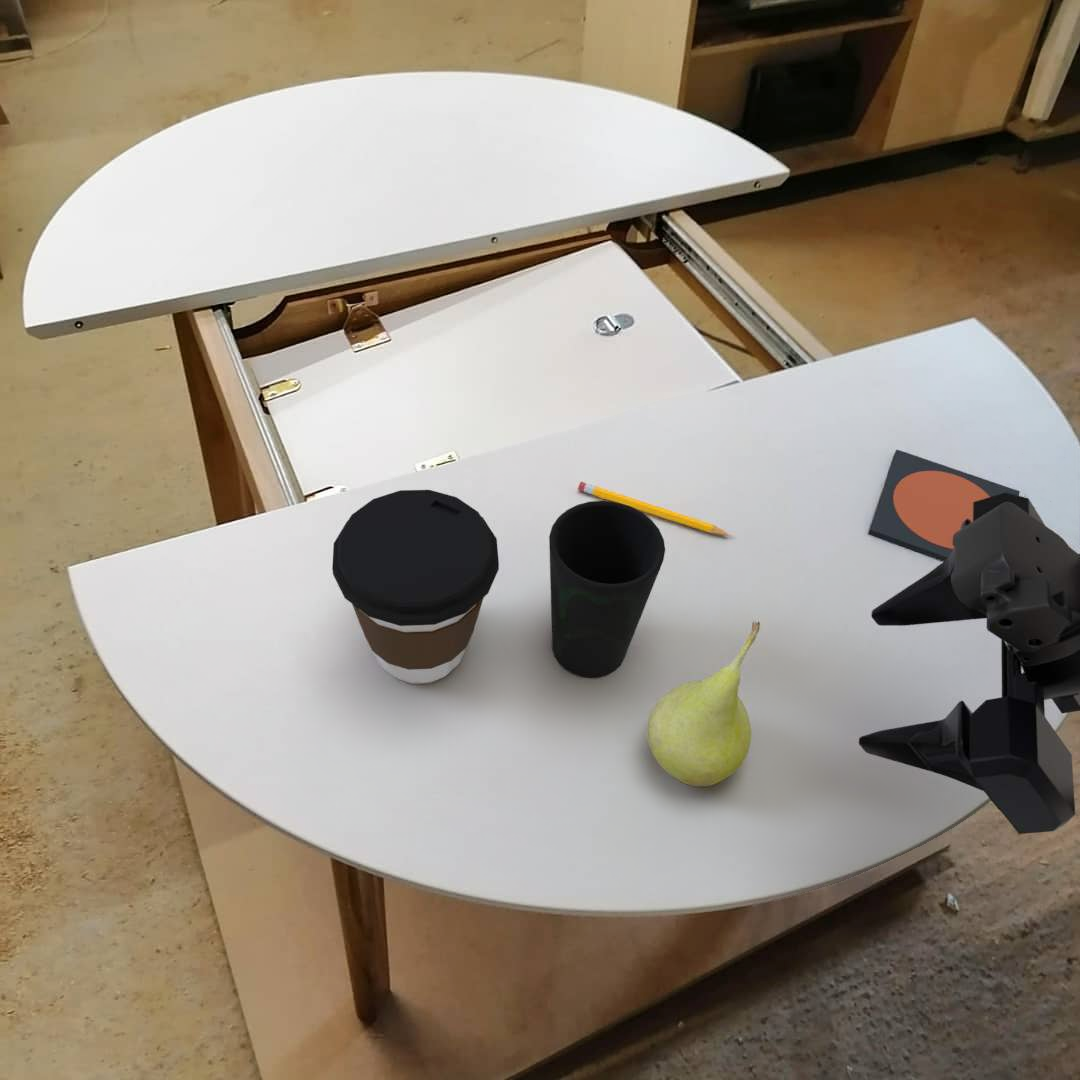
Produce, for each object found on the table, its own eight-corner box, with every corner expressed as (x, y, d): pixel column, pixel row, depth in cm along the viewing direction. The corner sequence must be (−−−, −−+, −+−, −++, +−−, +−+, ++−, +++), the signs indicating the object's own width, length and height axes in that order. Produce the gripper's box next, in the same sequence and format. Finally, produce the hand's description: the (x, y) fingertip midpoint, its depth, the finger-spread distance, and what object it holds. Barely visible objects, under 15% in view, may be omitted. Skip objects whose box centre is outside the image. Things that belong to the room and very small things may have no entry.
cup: (641, 612, 78) (666, 506, 69) (638, 696, 73) (664, 594, 64) (542, 600, 78) (554, 493, 69) (532, 683, 73) (543, 580, 64)
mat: (1017, 495, 89) (1020, 490, 88) (1000, 581, 82) (1003, 576, 82) (894, 453, 91) (896, 448, 91) (867, 534, 85) (870, 528, 84)
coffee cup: (399, 570, 79) (392, 461, 70) (521, 629, 76) (530, 523, 67) (314, 671, 72) (294, 565, 63) (443, 739, 69) (442, 638, 60)
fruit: (623, 766, 69) (649, 668, 60) (679, 692, 73) (710, 590, 64) (707, 822, 67) (747, 729, 58) (760, 742, 71) (805, 644, 62)
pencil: (580, 485, 86) (581, 479, 85) (732, 535, 83) (733, 529, 83) (577, 491, 85) (578, 486, 85) (729, 541, 83) (731, 536, 82)
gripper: (1092, 381, 51) (816, 477, 61) (1124, 673, 39) (773, 735, 49) (1169, 524, 56) (902, 592, 66) (1218, 823, 44) (882, 851, 54)
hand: (868, 678), depth 58 cm, fingers open, 9 cm apart
